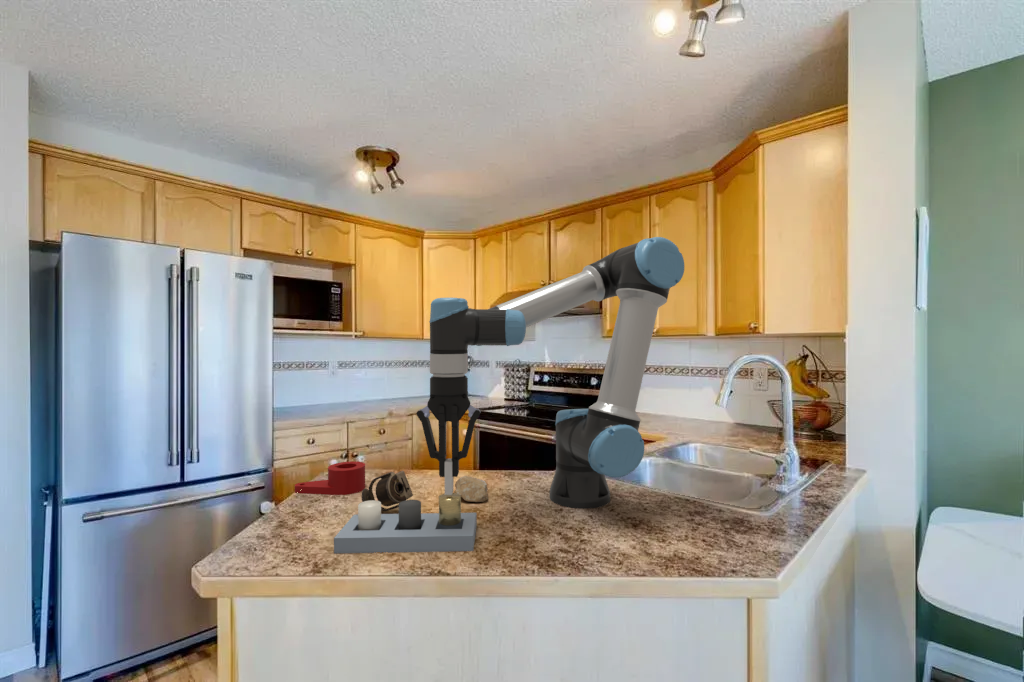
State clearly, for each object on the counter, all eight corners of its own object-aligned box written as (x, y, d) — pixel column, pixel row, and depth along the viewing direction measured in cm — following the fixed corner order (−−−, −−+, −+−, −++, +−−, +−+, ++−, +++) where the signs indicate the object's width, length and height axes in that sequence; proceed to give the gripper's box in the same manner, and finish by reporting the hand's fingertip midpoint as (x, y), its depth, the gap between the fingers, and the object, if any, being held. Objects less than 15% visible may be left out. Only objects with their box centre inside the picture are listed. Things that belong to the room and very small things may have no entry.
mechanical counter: (401, 522, 103) (401, 476, 103) (348, 518, 105) (348, 473, 105) (415, 510, 110) (414, 468, 110) (365, 507, 112) (364, 465, 112)
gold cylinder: (461, 517, 96) (461, 492, 96) (460, 525, 92) (459, 499, 92) (440, 517, 96) (440, 493, 96) (437, 525, 92) (437, 500, 92)
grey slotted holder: (476, 526, 100) (476, 512, 100) (473, 551, 88) (473, 535, 88) (354, 528, 99) (354, 514, 99) (334, 554, 87) (333, 538, 87)
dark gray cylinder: (422, 523, 96) (422, 499, 96) (419, 532, 92) (418, 507, 92) (401, 524, 96) (401, 499, 96) (396, 533, 91) (396, 507, 91)
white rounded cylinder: (383, 524, 96) (383, 500, 96) (378, 533, 91) (377, 507, 91) (362, 524, 96) (361, 500, 96) (355, 533, 91) (355, 508, 91)
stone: (486, 492, 124) (487, 475, 125) (487, 503, 114) (489, 485, 114) (454, 490, 124) (456, 472, 124) (453, 501, 113) (455, 482, 113)
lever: (368, 484, 131) (368, 460, 131) (361, 495, 122) (361, 469, 122) (300, 487, 129) (300, 463, 129) (288, 498, 119) (288, 472, 119)
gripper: (482, 373, 98) (482, 486, 98) (419, 374, 98) (419, 487, 97) (480, 376, 90) (480, 498, 90) (412, 376, 90) (412, 499, 90)
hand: (449, 492), depth 94 cm, fingers closed
